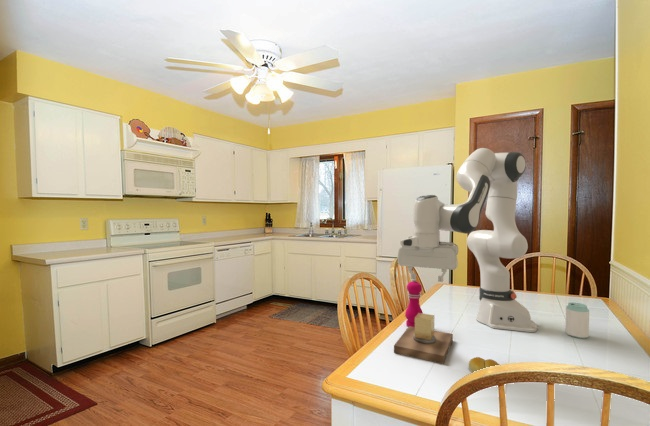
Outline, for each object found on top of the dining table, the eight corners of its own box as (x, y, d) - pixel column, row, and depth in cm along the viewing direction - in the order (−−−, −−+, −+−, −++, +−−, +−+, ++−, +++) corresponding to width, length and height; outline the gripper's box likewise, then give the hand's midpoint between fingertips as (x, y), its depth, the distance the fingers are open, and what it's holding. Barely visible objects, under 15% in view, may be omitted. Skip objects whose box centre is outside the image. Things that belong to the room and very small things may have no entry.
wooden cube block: (434, 334, 115) (434, 315, 115) (431, 340, 111) (431, 320, 110) (418, 331, 118) (418, 312, 118) (414, 337, 113) (414, 317, 113)
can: (568, 337, 122) (569, 306, 122) (562, 330, 129) (563, 300, 128) (591, 340, 119) (592, 308, 119) (584, 333, 126) (585, 302, 126)
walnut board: (452, 340, 119) (452, 314, 119) (443, 363, 102) (443, 333, 102) (409, 332, 127) (409, 307, 127) (393, 352, 110) (394, 324, 109)
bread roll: (470, 363, 103) (470, 350, 103) (502, 371, 98) (502, 358, 98) (466, 374, 96) (466, 361, 96) (500, 383, 91) (500, 369, 91)
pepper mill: (424, 329, 130) (424, 280, 129) (405, 328, 131) (405, 279, 131) (422, 323, 137) (422, 276, 136) (404, 322, 138) (404, 275, 138)
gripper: (459, 241, 112) (459, 281, 113) (400, 239, 122) (401, 275, 123) (457, 243, 107) (457, 285, 107) (396, 240, 117) (396, 279, 117)
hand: (426, 280), depth 115 cm, fingers open, 8 cm apart
